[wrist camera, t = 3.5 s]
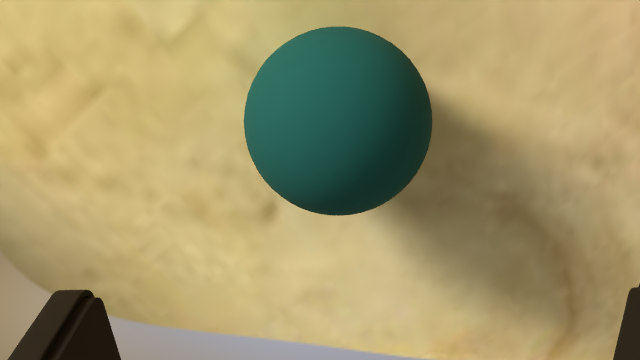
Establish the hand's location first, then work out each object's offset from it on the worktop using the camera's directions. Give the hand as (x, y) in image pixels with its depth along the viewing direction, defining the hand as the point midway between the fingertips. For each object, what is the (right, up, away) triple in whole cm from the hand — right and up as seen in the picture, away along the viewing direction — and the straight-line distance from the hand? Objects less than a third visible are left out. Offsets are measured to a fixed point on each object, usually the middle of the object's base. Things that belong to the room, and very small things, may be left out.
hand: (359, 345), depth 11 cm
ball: (0, +6, +11) cm, 13 cm away
